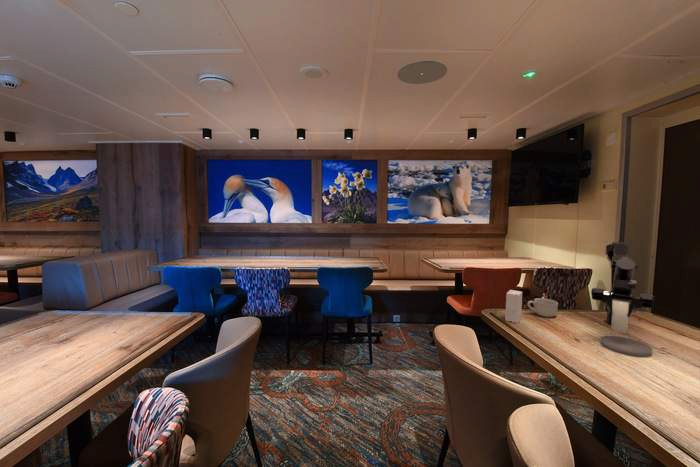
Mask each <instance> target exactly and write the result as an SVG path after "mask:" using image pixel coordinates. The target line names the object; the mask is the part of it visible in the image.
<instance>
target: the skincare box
mask: <svg viewBox="0 0 700 467" xmlns="http://www.w3.org/2000/svg"><path fill="white" fill-rule="evenodd" d="M505 296H506V300H505V315H504V316H505V322H509V321H512V322H511V323H513V322H517V323H516V324H518V323H519V322H520V321H521V320H522V311H523V291H520V290H514V289H509V290H508V291H507V292H506V294H505ZM520 319H521V320H520Z"/></svg>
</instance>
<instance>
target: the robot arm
mask: <svg viewBox="0 0 700 467" xmlns="http://www.w3.org/2000/svg"><path fill="white" fill-rule="evenodd" d="M604 254H605V255H606V258H607V260H608V262H609V266H610V268H609V269H610V291H607V290H605V289H604V288H598V287H593V288H592V289H591V293H590V294H591V299H592V300H595V301H601V302H602V303H604V311H605V312H606V319H604V320H603V321H604V322H605V323H607V324H609V325H612V300H624V301H627V302H629V311H628V318H631V316H632V315H633V314H634V312H636V310H638V309H642V308H647V309H654V308H655V296H654V295H653V294H647V293H640V294H639V295H640V296H633V295H632V290H637V282H638V281H637V280H635V279H633V275H634V272H635V270H636V269H638V264H636V262H635V261H633V258H632V257H630V256H629V254H630V247H629V246H628V245H627V244H626V242H621V241H619V242H616V241H614V242H611V243H610V244H607V245H606V246H605V253H604Z"/></svg>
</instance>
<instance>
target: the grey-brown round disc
mask: <svg viewBox="0 0 700 467" xmlns="http://www.w3.org/2000/svg"><path fill="white" fill-rule="evenodd" d="M599 341H600V343H599V344H600V345H601V346H602V347H604V348H605V349H607V350H610V351H611V352H614V353H618V354H619V355H620V354H621V355H624V356H629V357H635V358H636V357H637V358H649V357H652V356H653V348H652V346H650V345H649V344H647V343H644V342H642V341H639V340H636V339H633V338H629V337H625V336H619V335H603V336H601V337H600V340H599Z"/></svg>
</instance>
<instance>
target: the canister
mask: <svg viewBox="0 0 700 467" xmlns="http://www.w3.org/2000/svg"><path fill="white" fill-rule="evenodd" d="M629 304H630V301H629V302H627V301H624V300H612V324H611V327H610V329H611V330H612V331H614V332H618V333H623V334H626V333H628V332H629V331H628V330H629V317H628V311H629Z"/></svg>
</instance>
